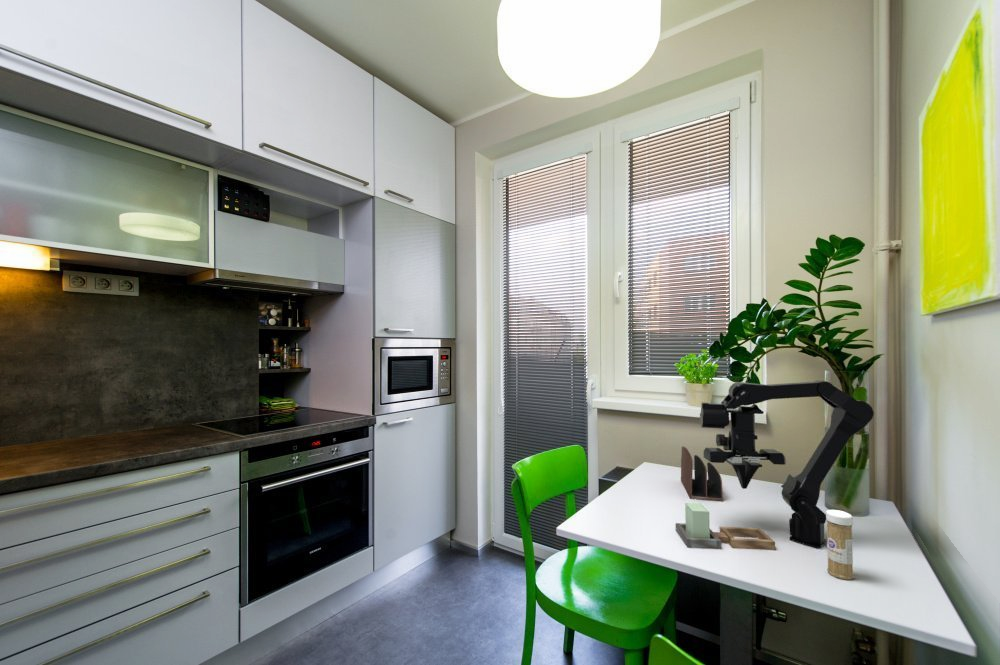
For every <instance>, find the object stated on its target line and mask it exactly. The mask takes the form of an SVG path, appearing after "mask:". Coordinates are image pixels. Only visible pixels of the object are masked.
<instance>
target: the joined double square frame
mask: <svg viewBox="0 0 1000 665" xmlns="http://www.w3.org/2000/svg"><path fill="white" fill-rule="evenodd" d="M675 532H676V533H677V535H678V536H679V537H680V539H681V541H682V543H684V545H685V546H686V548H690V549H709V550H710V549H712V550H713V549H714V550H722V544H728V546H730V547H731V548H732V549H744V550H765V551H776V541H775V540H773V538H771V536H769V535H768V534H767V533H765V531H763V530H762V529H761V528H759V527H742V526H741V527H739V526H719V531H713V530H712V529H711V528H710V539H706V538H690V537H689V536H688V534H687V533H686V523H680V522H679V523H678V522H675ZM735 537H736V538H735ZM738 537H739V538H738ZM740 537H741V538H740ZM756 538H757V539H756Z"/></svg>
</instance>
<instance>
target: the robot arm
mask: <svg viewBox="0 0 1000 665" xmlns="http://www.w3.org/2000/svg"><path fill="white" fill-rule="evenodd" d="M813 397H815V398H816V397H819V398H820V399H821V400H823V401H824V402H825V403H826V404H827V405H828V406H830V407H832V408H833V410H832V413H831V417H830V425H829V428H828V429H827V431H826V433H825V434H824V436H823V438H822V439H821V441H820V442H819V444H818V445H817V447H816V449H815V450H814V452H813V454H812V455H811V456H810V459H809V460H808V461H807V463H806V464H805V466H804V468H803V469H802V471H801V472H800V473H799V474H798V475H796V476H794V475H792V474H788V475H787V477H786V481H784V483H783V484H782V485H781V486H780V488H782V489H781V497H782V499H783V501H784V502H785V503H786V504H787V505H788V507H790V509H791V510H792V511H793V513H791V518H790V519H789V535H790V537H789V540H790V541H792V542H796V543H799V544H803V545H806V546H809V547H812V548H815V549H821V548H822V547H823V546H824V545H825V544H827V542H828V539H827V538H825V523H826V522H827V519H826V512H823V511H822V510H821V509H820V508H819V507H818V506H817V504H818V503H819V498H820V495H821V494H820V492H821V485H822V483H823V481H824V480H825V478H826V477H827V475H828V474H829V472H830V470H831V469H832V468H833V466H834V464H835V462H836V461H837V460H838V459H839V458H838V457H839V456H840V454H841V453H842V452H843V450H844V449H845V447H846V445H847V444H848V442H849V440H850V439H851V438H852V437H853V436H854V435H856V434H858V433H859V432H860V431H862V430H863V429H865V427H866V426H867V425H868V424H869V423H870V422H871V421H872V420H873V418H874V416H875V411H874V410H873V407H872V406H871V404H869V403H867V402H866V401H863V400H860V399H859V400H858V399H856V398H854V397H853V396H851V395H849V394H848V393H846V392H844V391H842V390H841V389H839V388H838V387H836V386H835V385H833V383H831V382H830V381H827V380H818V379H817V380H815V381H814V380H813V381H804V382H801V381H800V382H787V383H786V382H785V383H775V384H774V383H772V384H771V383H770V384H761V383H756V382H755V383H754V382H753V383H752V382H744V381H743V382H741V381H738V382H737V381H736V382H734V383H732V384H731V385H730V386H729V389H728V394H727V395H726V396H725V397H724V399H723V400H722V401H721V402H720V403H709V402H701V406H700V412H699V422H700V427H701V428H704V429H705V428H707V429H725V428H726V427H728V426H729V425H730V430H729V431H728V436H726V435H725V434H724V433H723V434H721V433H717V434H716V435H715V436H716V437H715V443H716V444H715V445H716V447H705V448H704V449H703V458H704V459H705V460H707V461H708V462H709V463H713V464H714V463H715V464H724V463H727V464H729V465H731V466H732V468H733V470H734V472H735V474H736V477H737V479H738V481H739V485H740V488H742V489H743V490H744V489H745V490H746V489H747V488H748V486H749V484H750V482H751V480H752V479H753V477H754V475H755V474H756V473H757V471H758V469H759V468H762V467H763V464H761V461H769V462H770V463H771V464H772V465H779V466H780V465H781V466H782V465H784V466H785V465H786V461H787V460H786V457H785V454H783V452H781V451H779V450H776V449H774V448H773V449H772V448H769V449H768V448H761V449H760V450H759V451H757V450H756V440H757V441H758V435H756V415H763V414H764V413H765V412H764V411H763V410H762V409H761V408H760V407H759V406H758V405H757V404H761V403H763V402H766V401H771V400H779V399H780V400H781V399H784V400H785V399H797V398H798V399H799V398H813ZM737 408H738V409H737ZM720 447H723V449H721V448H720Z"/></svg>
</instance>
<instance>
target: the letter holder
mask: <svg viewBox="0 0 1000 665" xmlns="http://www.w3.org/2000/svg"><path fill="white" fill-rule="evenodd" d="M693 458H694V459H693ZM693 460H694V461H693ZM693 463H694V464H693ZM693 466H694V467H693ZM706 466H707V467H706ZM693 468H694V469H693ZM693 470H694V478H693ZM680 482H681V483H682V485H683V488H684V490H685V492H686V493H687V495H688V497H689V499H690V500H695V499H696V500H697V501H709V502H719V503H720V502H723V501H724V494H723V481H722V476H721V473H720V472H719V471H718V470H717V468H716V466H714V465H713V464H712V462H710V461H708V462H707V463H706V465H705V462H704V461H703V460H702V458H701V457H700V456H699V455H697V454H694V456H692V455H691V453H690V451H689V449H688V448H687V447H685V446H682V447H681V458H680ZM696 500H695V501H696Z"/></svg>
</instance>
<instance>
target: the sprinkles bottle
mask: <svg viewBox="0 0 1000 665" xmlns="http://www.w3.org/2000/svg"><path fill="white" fill-rule="evenodd" d="M825 514H826V522H827V525H826V527H827V528H826V532H827V536H826V537H827V538H826V539H827V542H826V547H827V548H826V550H827V551H826V552H827V556H826V557H827V573H829V575H831V576H832V577H835V578H836V579H840V580H846V581H847V580H852V579H854V571H853V568H854V567H853V564H854V563H853V562H854V559H853V558H854V556H853V553H854V552H853V550H854V549H853V536H852V535H853V533H852V532H853V531H852V530H853V529H852V527H853V524H854V523H853V522H854V521H853V515H852V514H851V513H848V512H847V511H843V510H838V509H828V510H826V511H825Z"/></svg>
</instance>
